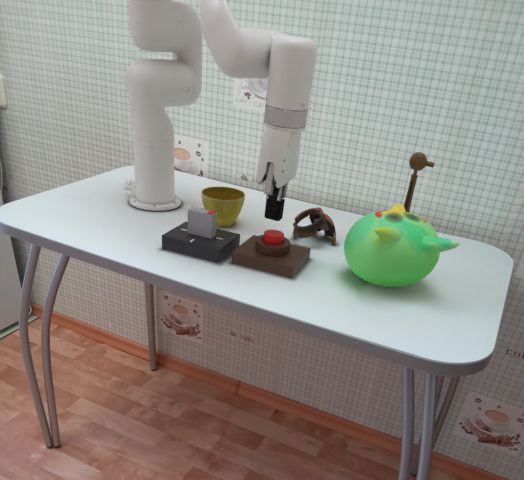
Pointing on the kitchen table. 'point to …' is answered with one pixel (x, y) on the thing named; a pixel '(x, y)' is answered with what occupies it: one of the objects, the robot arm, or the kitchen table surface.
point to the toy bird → (393, 247)
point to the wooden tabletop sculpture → (415, 175)
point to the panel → (200, 243)
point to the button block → (271, 256)
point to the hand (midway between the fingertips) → (273, 218)
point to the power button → (273, 237)
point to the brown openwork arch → (314, 224)
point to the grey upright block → (202, 222)
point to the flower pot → (223, 203)
